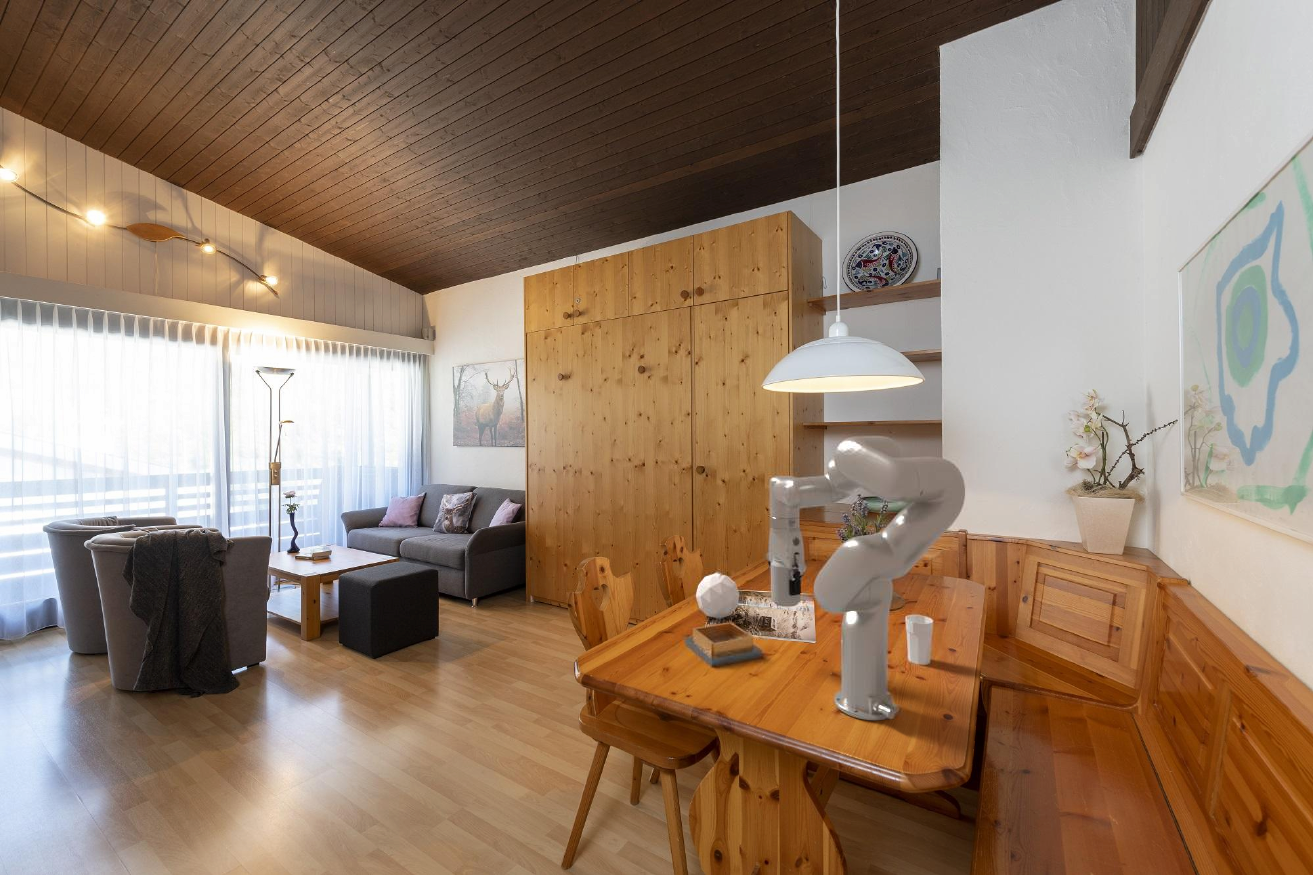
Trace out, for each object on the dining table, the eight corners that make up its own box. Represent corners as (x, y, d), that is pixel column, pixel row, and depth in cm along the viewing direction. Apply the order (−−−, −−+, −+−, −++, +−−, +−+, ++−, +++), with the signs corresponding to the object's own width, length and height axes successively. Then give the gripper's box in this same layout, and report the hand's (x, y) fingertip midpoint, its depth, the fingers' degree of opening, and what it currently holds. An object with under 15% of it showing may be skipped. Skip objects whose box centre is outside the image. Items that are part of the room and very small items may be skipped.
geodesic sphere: (690, 588, 193) (694, 562, 184) (731, 587, 195) (737, 560, 186) (696, 627, 182) (701, 601, 173) (740, 625, 183) (747, 599, 174)
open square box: (761, 657, 151) (761, 638, 151) (711, 666, 145) (711, 647, 145) (731, 636, 166) (731, 619, 166) (685, 644, 160) (685, 626, 160)
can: (801, 608, 144) (800, 561, 144) (771, 606, 145) (770, 560, 145) (799, 599, 151) (799, 554, 151) (771, 598, 153) (770, 554, 152)
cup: (906, 653, 153) (906, 613, 152) (933, 658, 150) (933, 617, 149) (904, 663, 147) (904, 621, 147) (932, 668, 144) (932, 625, 143)
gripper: (817, 527, 141) (818, 597, 142) (777, 517, 157) (778, 581, 158) (792, 529, 139) (793, 601, 139) (754, 519, 155) (755, 584, 155)
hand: (785, 590), depth 148 cm, fingers closed on can, 7 cm apart
